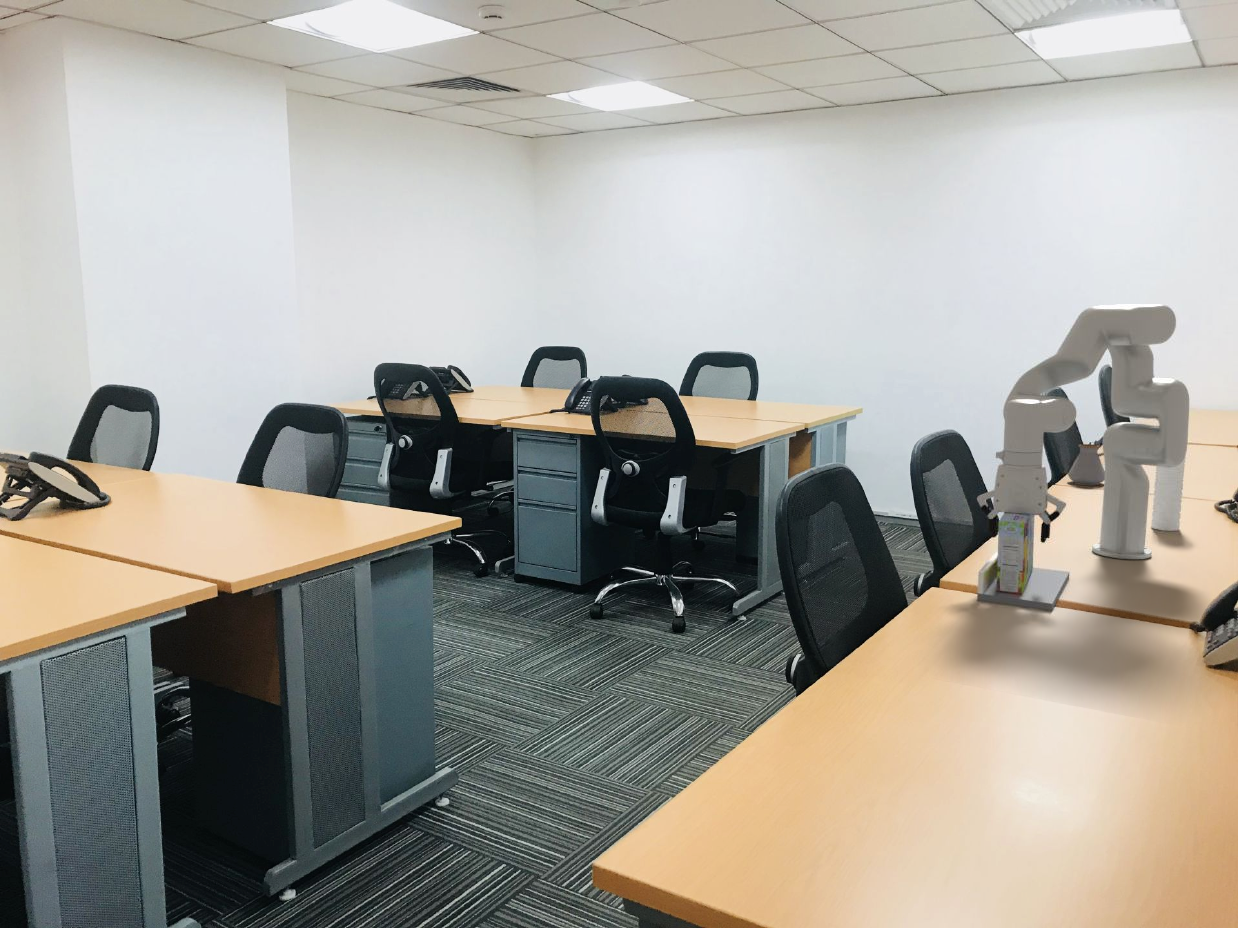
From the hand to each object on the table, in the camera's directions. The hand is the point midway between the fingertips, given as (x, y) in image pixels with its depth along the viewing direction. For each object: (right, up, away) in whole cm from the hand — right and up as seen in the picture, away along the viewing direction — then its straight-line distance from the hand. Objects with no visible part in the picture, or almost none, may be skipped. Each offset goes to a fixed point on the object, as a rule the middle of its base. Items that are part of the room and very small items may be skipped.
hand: (1018, 538), depth 199 cm
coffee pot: (+76, +9, +113) cm, 137 cm away
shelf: (+1, -11, 0) cm, 11 cm away
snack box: (0, -9, +2) cm, 9 cm away
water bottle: (+62, -2, +53) cm, 81 cm away
